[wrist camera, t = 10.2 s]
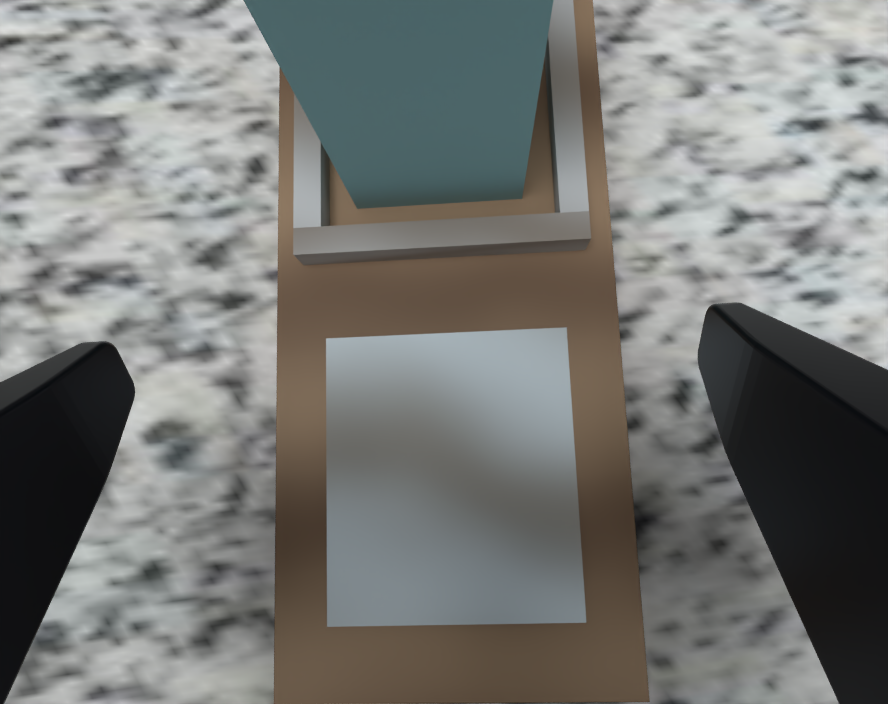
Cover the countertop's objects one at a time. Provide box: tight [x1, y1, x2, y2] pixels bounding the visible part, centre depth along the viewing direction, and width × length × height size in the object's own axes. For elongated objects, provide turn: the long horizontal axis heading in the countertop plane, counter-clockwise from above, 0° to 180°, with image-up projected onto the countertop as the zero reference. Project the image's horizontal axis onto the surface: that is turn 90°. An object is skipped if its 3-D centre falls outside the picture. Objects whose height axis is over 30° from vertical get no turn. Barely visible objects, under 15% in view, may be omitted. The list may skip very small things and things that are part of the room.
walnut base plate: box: [274, 0, 649, 704], centre depth 18 cm, size 21×10×4 cm, turn 2°
